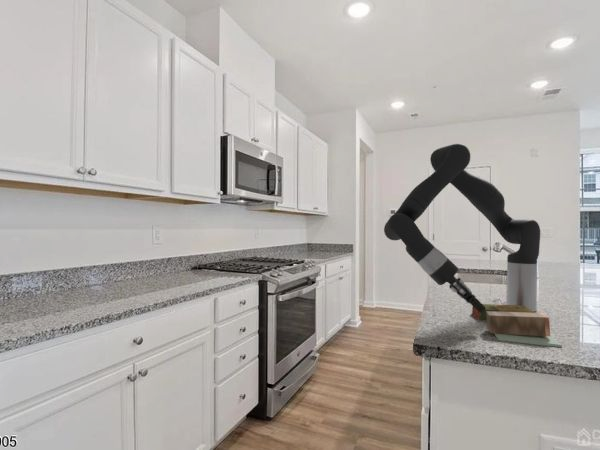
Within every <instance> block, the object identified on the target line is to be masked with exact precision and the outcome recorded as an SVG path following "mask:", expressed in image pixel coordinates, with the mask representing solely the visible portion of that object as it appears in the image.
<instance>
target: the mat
mask: <svg viewBox="0 0 600 450" xmlns="http://www.w3.org/2000/svg"><path fill="white" fill-rule="evenodd" d="M494 336H495V338H496V339H497V340H498V341H501V342H502V341H503V342H510V343H519V344H521V343H522V344H529V345H530V344H531V345H537V346H538V345H539V346H546V347H555V348H556V347H557V348H562V347H563V345H562V344H561V343H560V342H559V341H557V340H556V339H555V338H554V337H553V336H552V335H550V336H531V335H512V334H494Z"/></svg>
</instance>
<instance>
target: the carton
mask: <svg viewBox="0 0 600 450" xmlns="http://www.w3.org/2000/svg"><path fill="white" fill-rule="evenodd" d="M482 304H483V305H484V306H485V308H486V309H485V310H484V311H483V312H481V313H480V312H478V311H477V310H476V309H475V308H474V307H473V306H472V308H471V309H472V310H471V311H472V312H471V313H472V315H473V316H474V315H475V316H474V317H475V318H477V319H478V318H479V319H478V320H480V321H484V320H487V316H486V311H496V312H526V313H535V311H532V310H530V309H529V308H526V307H524V306H520V305H506V304H491V303H482Z"/></svg>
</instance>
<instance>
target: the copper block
mask: <svg viewBox="0 0 600 450" xmlns="http://www.w3.org/2000/svg"><path fill="white" fill-rule="evenodd" d="M486 316H487V321H486V329H487V330H488V332H489V333H490V334H493V335H495V334H512V335H531V336H551V326H550V317H549V316H547V314H546V313H544V312H534V313H526V312H496V311H486Z"/></svg>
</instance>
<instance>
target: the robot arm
mask: <svg viewBox="0 0 600 450" xmlns="http://www.w3.org/2000/svg"><path fill="white" fill-rule="evenodd" d="M470 161H471V152H470V149H469V148H468V147H467V146H466V145H465V144H463V143H454V144H453V143H452V144H450V145H449V144H448V145H446V146H442V147H439V148H437V149H435V150H434V151H433V152H432V153H431V155H430V164H431V167H432V169H433V170H434V172H433V173H432V174H431V175H429V176H428V177H427V178H426V179H424V180H423V181H421V183H419V184H418V185H416V187H414V188H413V189H412V190H411V192H409V194H408V196H406V198H405V199H404V201H402V203H401V204H400V207H398V209H397V210H396V212H394V213H393V214H392V215H391V216H390V217H389V219H388V220H387V222H386V223H385V224H384V228H383V232H384V235H385V236H386V238H387V239H389V240H390V241H399V240H401V242H403V244H404V245H405V251H406V252H407V254H408V255H409V256H410V257H411V258H412V259H413V260H414V261H415V262H416V263H417V264H418V265H419V267H420V268H421V269H422V270H423V271H424V272H425V273H426V274H427V275H428V276H429V277H430V278H431V279H432V280H433V281H434V282H435V283H436V284H437V285H438V286H442V285H444V284H446V283H448V284H449V286H448V287H449V289H451V291H452V292H453V293H456V295H458V296H459V297H460V299H463V300H464V301H466V303H468V304H470V305H471V306H472V308H473V307H474V308H475V309H476V310H477V311H478V312H480V313H481V312H483V311H484V310H485V309H486V308H485V306H484V305H483V304H484V303H482V302H481V301H480V300H479V299H478V298H477V297H476V295H475V294H473V292H472V290H471V289H470V287H469V286H467V284H465V282H464V281H463V279H461V278H460V277H455V275H456V274H458V272H459V268H458V266H457V265H455V264H454V262H452V260H450V259H449V258H448V257H447V255H445V254H444V253H443V252H442V251H440V250H439V249H438V248H437V247H435V246H434V245H433V243H432V242H431V241H429V240H428V239H427V238H426V237H425V236H424V234H423V233H422V231H421V230H420V229H419V227H418V226H417V224H416V223H415V222H416V221H417V220H418V219H419V218H420V217H421V216H422V215H423V214H424V213H425V211H426V210H427V208H428V207H429V206H430V204H431V203H432V202H433V201H434V199H436V197H437V196H439V194H440V193H442V191H443V190H444V189H445V188H446V187H447V186H448V185H449V184H451V185H452V186H453V187H454V188H455V189H456V190H458V192H459V193H460V194H462V195H463V196H464V197H465V199H467V200H468V201H469V202H470V204H471V205H473V206H474V207H475V208H476V209H477V210H478V212H480V213H481V214H482V215H483V216H484V217H485V218H486V219H487V220H488V221H489V223H490V224H492V226H493V227H494V228H495V229H496V231H497V232H498V233H499V234H500V236H501V238H502V239H503V240H505V241H506V242H507V243H509V244H512V245H513V244H514V245H519V249H518V250H516V251H514V252H511V253H509V254H508V255H507V257H506V258H507V259H506V260H507V261H506V264H507V265H506V267H507V268H506V270H507V273H506V274H507V275H506V278H507V279H506V303H505V305H520V306H524V307H526V308H529V309H530V310H532V311H534V312H537V311H538V310H537V308H538V306H537V305H538V303H537V302H538V301H537V300H538V299H537V298H538V294H537V293H538V259H539V256H540V244H541V243H540V242H541V229H540V228H541V227H540V225H539V223H538V222H537V221H536V220H534V219H515V218H512V217H511V216H510V215H509V214H508V213H507V212H506V211H505V198H504V196H503V194H502V193H501V191H500V190H499V189H498V188H496V186H495V185H494V184H493V183H492V182H490V181H488V180H486V179H485V178H482V177H480V176H478V175H475V174H473V173H471V172H469V171H467V170H466V169H467V167H468V166H469V164H470Z"/></svg>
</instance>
